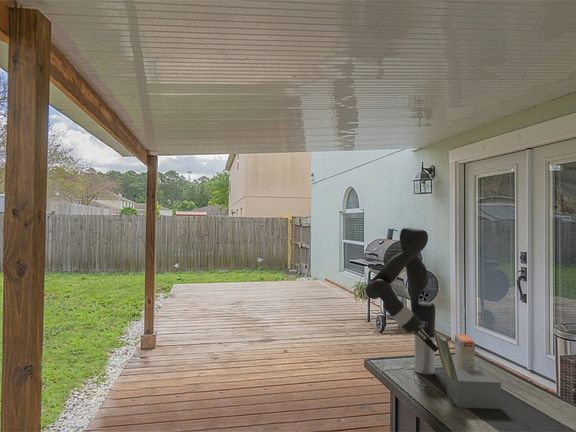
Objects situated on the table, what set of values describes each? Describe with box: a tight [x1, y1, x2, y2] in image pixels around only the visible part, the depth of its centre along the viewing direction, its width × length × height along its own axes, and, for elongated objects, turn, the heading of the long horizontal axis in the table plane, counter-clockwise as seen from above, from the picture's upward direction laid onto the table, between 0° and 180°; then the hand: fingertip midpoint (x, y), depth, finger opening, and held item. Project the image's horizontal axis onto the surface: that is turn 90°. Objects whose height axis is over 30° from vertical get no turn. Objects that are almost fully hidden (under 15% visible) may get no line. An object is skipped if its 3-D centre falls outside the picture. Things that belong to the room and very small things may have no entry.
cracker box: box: [454, 333, 476, 370], centre depth 187 cm, size 14×6×21 cm, turn 168°
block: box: [446, 369, 502, 410], centre depth 169 cm, size 14×16×10 cm
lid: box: [433, 331, 458, 382], centre depth 170 cm, size 15×16×1 cm
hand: (436, 350), depth 171 cm, fingers closed
